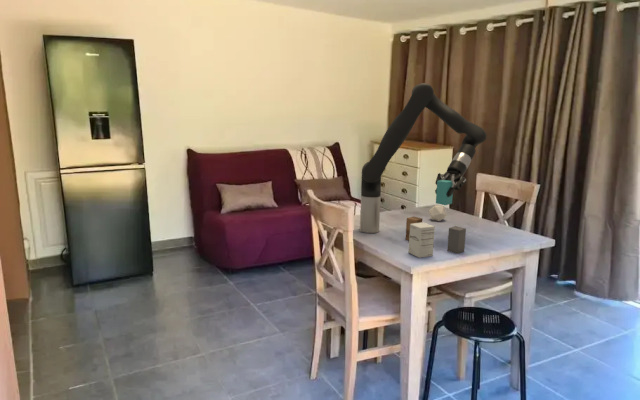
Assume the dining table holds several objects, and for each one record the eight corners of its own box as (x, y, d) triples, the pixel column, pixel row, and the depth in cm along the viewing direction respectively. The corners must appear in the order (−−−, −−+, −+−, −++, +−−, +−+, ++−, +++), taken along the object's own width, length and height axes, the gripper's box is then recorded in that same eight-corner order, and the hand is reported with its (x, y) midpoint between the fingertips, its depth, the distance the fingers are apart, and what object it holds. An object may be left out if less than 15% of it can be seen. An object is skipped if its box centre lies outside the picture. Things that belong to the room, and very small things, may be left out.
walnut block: (414, 241, 221) (415, 220, 219) (405, 239, 225) (406, 218, 222) (421, 239, 224) (422, 218, 222) (412, 237, 228) (413, 216, 226)
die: (449, 222, 260) (445, 205, 264) (445, 217, 253) (441, 200, 257) (434, 225, 263) (430, 209, 267) (429, 221, 256) (426, 204, 260)
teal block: (445, 205, 213) (447, 182, 211) (435, 203, 217) (437, 180, 215) (452, 203, 216) (453, 181, 214) (442, 201, 220) (443, 179, 218)
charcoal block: (457, 253, 205) (459, 230, 203) (447, 250, 209) (448, 228, 207) (464, 251, 208) (466, 228, 206) (453, 248, 212) (455, 226, 210)
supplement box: (407, 252, 205) (409, 223, 202) (422, 250, 208) (424, 221, 206) (418, 258, 199) (420, 227, 196) (433, 256, 202) (435, 226, 199)
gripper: (442, 157, 223) (425, 187, 217) (471, 161, 212) (453, 192, 207) (448, 168, 227) (431, 197, 222) (476, 172, 217) (459, 202, 212)
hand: (442, 194), depth 214 cm, fingers closed on teal block, 5 cm apart
